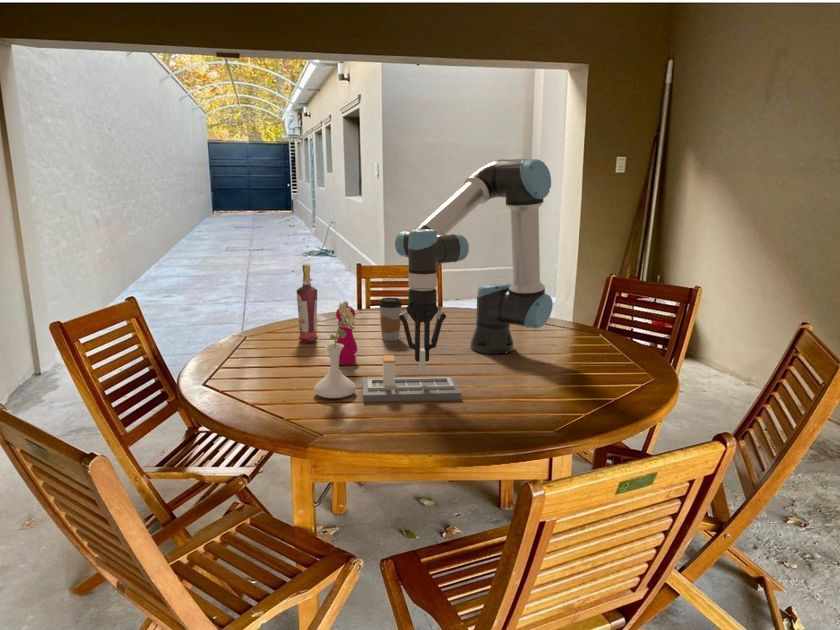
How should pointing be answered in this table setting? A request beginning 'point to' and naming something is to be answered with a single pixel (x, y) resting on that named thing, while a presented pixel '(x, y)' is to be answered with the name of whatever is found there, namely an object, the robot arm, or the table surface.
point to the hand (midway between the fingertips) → (421, 372)
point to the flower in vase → (337, 363)
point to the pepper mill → (346, 341)
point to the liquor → (307, 308)
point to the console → (411, 389)
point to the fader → (388, 370)
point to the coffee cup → (390, 318)
